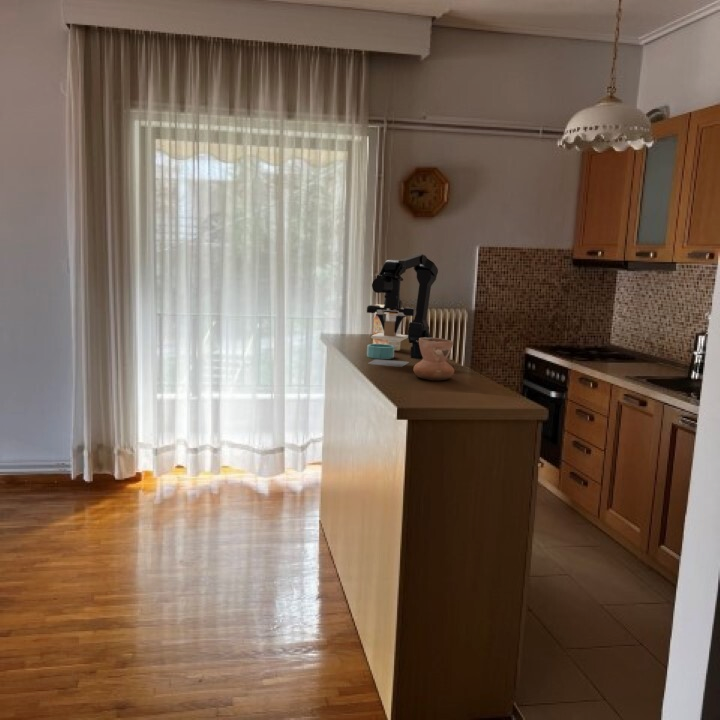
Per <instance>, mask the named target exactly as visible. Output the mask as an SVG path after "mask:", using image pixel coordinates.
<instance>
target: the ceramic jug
mask: <svg viewBox="0 0 720 720" xmlns="http://www.w3.org/2000/svg"><path fill="white" fill-rule="evenodd" d="M419 346H420V351H421V354H422V357H423V359H420V361H419V362H417V363H415V365H414V366H413V373H414V375H415V376H416V377H418V378H420V379H423V380H427V381H434V380H435V381H437V382H438V381H446V380H449V379H451V378H452V377H453V376H454V374H455V369H454V367H453V366H452V365H451V364H450V363H449V362H447V359H448V358H449V355H450V354H451V353H450V352H451V351H452V348H453V346H454V341H453V340H450V339H447V338H440V337H432V336H431V337H430V338H427V337H424V338H419ZM435 381H434V382H435Z"/></svg>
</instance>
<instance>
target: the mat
mask: <svg viewBox="0 0 720 720" xmlns="http://www.w3.org/2000/svg"><path fill="white" fill-rule="evenodd" d="M409 363H410V362H409V361H404V360H394V359H393V360H391V359H377V358H374V359H373V360H371V361H369V362H367V363H366V364H367V365H376V366H386V367H397V368H398V367H399V368H403V367H404V366H406V365H408V364H409Z"/></svg>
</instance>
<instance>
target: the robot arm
mask: <svg viewBox="0 0 720 720" xmlns="http://www.w3.org/2000/svg"><path fill="white" fill-rule="evenodd" d="M411 268H413V270H414V272H415V273H416V280H417V282H418V291H417V299H416V305H415V306H416V307H403V302H402V300H401V295H400V294H401V282H404V278H403V276H402V275H403V274H405V273H406V270H409V269H411ZM438 274H439V269H438V266H436V264H435V263H434V262H433V261H432V260H431V259H429V258H428V257H427V255H425V254H421V253H420V254H419V253H415V254H412V255H410V256H407V257H404V258H401V259H386V261H385V262H384V264H383V266H382V268H381V270H380V271H379V273H378V274H377V275H376V278H374V279H373V281H372V283H371V288H372V290H373V292H375V293H377V294H384V300H383V305H384V308H382V307H380V305H381V304H380V305H376V304H370V305H367V307H366V313H367V314H374V313H375V312H377V314H376V316H378V317H379V319H380V321H381V324H382V327H383V330H384V324H385V321H386V314H384V313H385V312H389V313H398V315H397V316H396V323H395V333H396V332H397V330H398V327H399V325H400V322H401V321H402V320H403V319H404V318H406V317H407V316H408V317H414V319H413V320H412V321H411V322H409V323H408V330H407V335H408V338H407V339H408V344H411V345H412V346H410V355H409V356H410V359H418V360H419V359H420V360H422V359H423V357H422V354H421V351H420V346H419V338H424V337H427V338H430V337H432V336H431V334H430V325H429V324H428V322H427V320H428V319H427V317H428V312H429V311H428V309H429V304H430V296H431V289H432V286H433V284H434V283H435V282H436V280H437V275H438ZM401 308H402V309H401ZM389 309H390V310H389ZM402 322H403V321H402Z"/></svg>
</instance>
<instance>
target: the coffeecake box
mask: <svg viewBox="0 0 720 720" xmlns="http://www.w3.org/2000/svg"><path fill="white" fill-rule="evenodd" d="M375 305H380V307H382V308H384V304H379V303H378V304H376V303H375ZM401 309H403V307H402V308H401ZM389 310H390V309H389ZM376 314H377V312H375V313H373V315H374V316H373V333H372V334H373V335H375V334H377V333H384V330H383V327H382V324H381V321H380V319H379V317H378V316H376ZM384 314H386V321H396V316H397V315H398V313H389V312H385V313H384ZM402 324H403V321H401V322H400V325H399V327H398V330H397V332H396V334H400V335H402ZM372 344H387V345H392V346H395V347H394V352H395V351H401V341H397V340H385V339H373V338H372Z"/></svg>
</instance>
